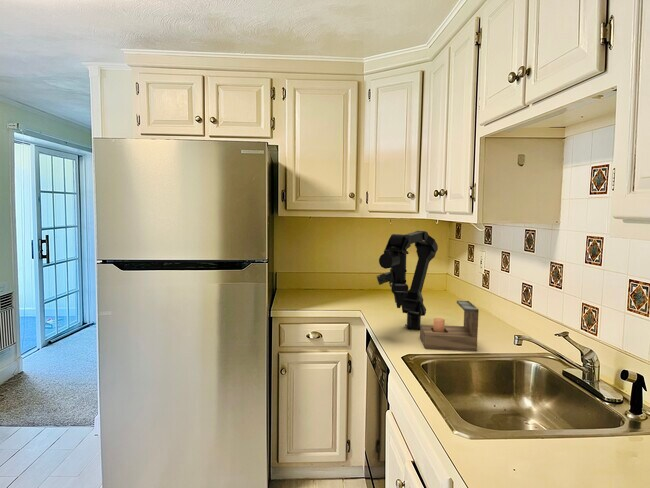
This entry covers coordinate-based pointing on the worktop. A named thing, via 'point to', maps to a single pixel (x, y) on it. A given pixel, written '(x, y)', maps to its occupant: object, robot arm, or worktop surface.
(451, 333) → the socket station
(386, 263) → the robot arm
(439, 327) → the peg
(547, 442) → the worktop surface
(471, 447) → the worktop surface
